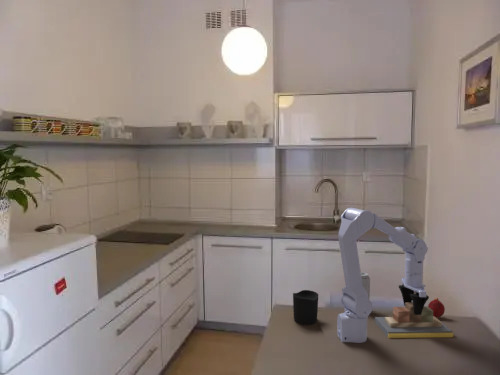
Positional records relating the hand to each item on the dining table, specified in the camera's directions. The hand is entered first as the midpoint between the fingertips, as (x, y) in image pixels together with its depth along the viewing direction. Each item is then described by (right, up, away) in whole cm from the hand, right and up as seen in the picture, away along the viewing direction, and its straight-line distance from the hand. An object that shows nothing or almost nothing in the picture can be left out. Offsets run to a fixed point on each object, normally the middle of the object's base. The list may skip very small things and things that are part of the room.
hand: (412, 310), depth 131 cm
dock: (0, -8, +1) cm, 8 cm away
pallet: (0, -5, 0) cm, 5 cm away
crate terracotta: (-4, -4, 0) cm, 5 cm away
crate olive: (+4, -4, 0) cm, 6 cm away
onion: (+14, -7, +11) cm, 19 cm away
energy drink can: (-13, -6, +18) cm, 23 cm away
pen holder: (-36, -7, +9) cm, 38 cm away
